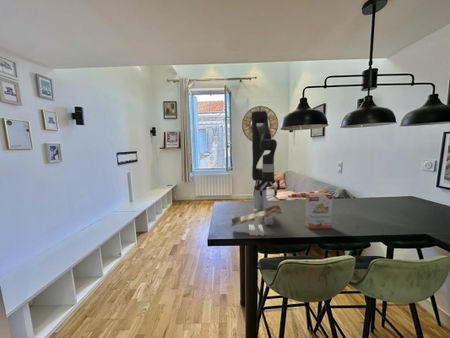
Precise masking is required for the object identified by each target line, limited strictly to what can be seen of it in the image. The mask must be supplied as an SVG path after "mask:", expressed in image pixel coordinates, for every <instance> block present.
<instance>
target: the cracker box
mask: <svg viewBox="0 0 450 338" xmlns="http://www.w3.org/2000/svg"><path fill="white" fill-rule="evenodd" d="M333 197H334V195H333V194H332V193H330V192H307V193H305V216H304V217H305V219H304V223H305V224H304V226H305V227H306V228H307V229H308V230H310V229H311V230H315V229H318V230H320V229H323V230H324V229H332V221H333V220H332V218H333V203H334V202H333V200H334V199H333Z"/></svg>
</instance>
